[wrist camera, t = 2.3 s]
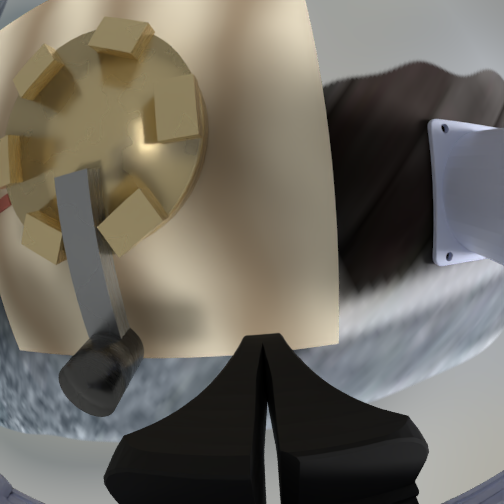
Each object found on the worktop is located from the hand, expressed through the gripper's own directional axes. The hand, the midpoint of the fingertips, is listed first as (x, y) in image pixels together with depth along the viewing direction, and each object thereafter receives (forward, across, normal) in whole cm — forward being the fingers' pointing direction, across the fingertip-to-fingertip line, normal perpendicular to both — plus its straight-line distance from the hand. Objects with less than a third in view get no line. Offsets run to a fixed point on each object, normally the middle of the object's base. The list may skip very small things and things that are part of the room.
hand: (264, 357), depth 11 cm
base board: (+5, +6, -9) cm, 12 cm away
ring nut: (+3, +6, -6) cm, 10 cm away
